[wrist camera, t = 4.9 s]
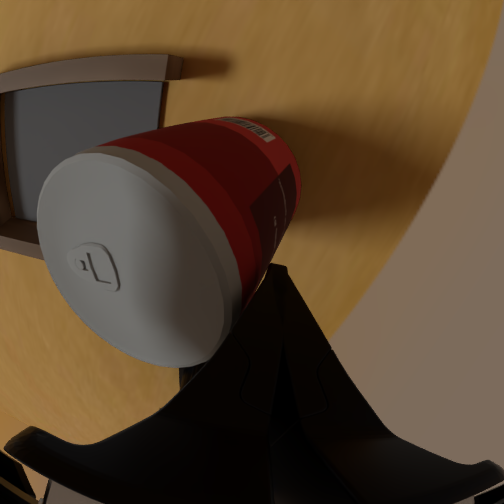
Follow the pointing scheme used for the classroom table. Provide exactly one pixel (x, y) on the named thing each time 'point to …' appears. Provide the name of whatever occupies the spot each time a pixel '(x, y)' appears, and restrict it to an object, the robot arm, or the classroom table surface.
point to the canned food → (168, 233)
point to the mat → (69, 128)
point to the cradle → (75, 70)
